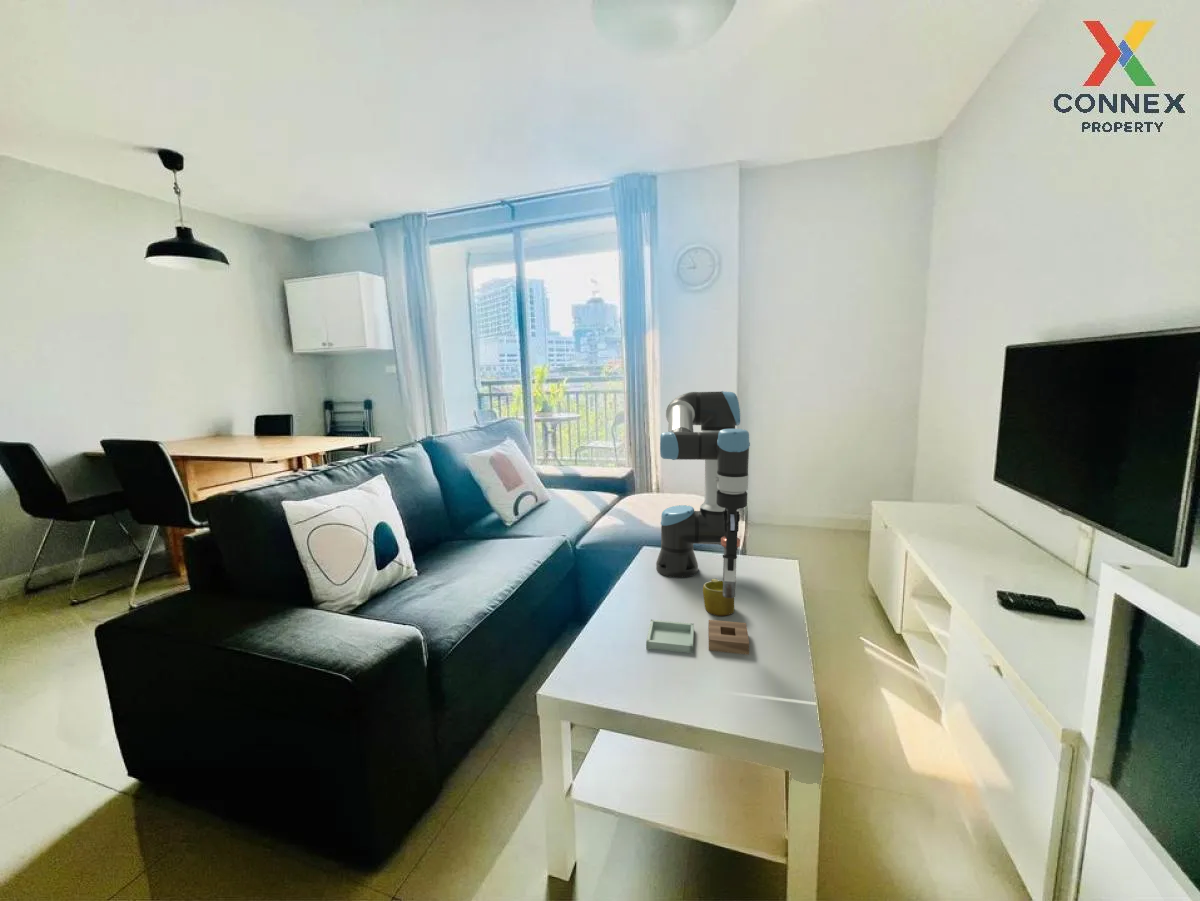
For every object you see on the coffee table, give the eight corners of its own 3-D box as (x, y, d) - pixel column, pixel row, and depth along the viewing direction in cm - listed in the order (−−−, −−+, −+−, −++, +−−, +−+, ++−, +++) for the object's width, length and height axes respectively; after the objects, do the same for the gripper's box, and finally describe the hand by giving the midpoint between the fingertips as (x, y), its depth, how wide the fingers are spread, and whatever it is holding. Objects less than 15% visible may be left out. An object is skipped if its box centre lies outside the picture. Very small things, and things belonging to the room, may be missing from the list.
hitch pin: (719, 590, 125) (720, 535, 123) (737, 591, 124) (739, 536, 122) (719, 598, 121) (721, 542, 118) (739, 600, 120) (740, 543, 117)
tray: (650, 627, 133) (650, 619, 133) (693, 631, 130) (693, 623, 130) (646, 649, 123) (646, 641, 122) (692, 654, 120) (692, 646, 120)
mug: (742, 616, 135) (731, 582, 136) (707, 623, 137) (697, 589, 138) (741, 603, 146) (731, 572, 147) (709, 610, 149) (699, 579, 150)
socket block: (708, 631, 131) (708, 619, 130) (745, 634, 128) (746, 623, 128) (708, 651, 121) (708, 639, 120) (748, 656, 119) (749, 643, 118)
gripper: (715, 482, 126) (714, 563, 130) (717, 498, 111) (715, 590, 115) (744, 483, 125) (742, 565, 129) (750, 500, 109) (747, 593, 113)
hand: (729, 577), depth 122 cm, fingers closed on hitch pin, 3 cm apart
